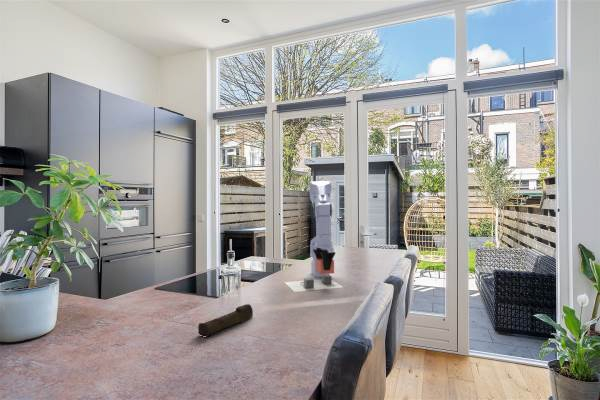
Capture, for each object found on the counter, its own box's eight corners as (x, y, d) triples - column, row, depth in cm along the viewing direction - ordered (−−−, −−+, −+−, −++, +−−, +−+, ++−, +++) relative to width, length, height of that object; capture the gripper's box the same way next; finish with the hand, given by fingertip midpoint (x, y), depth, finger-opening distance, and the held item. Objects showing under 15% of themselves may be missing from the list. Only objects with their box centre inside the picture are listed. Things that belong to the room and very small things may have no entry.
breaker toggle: (304, 286, 134) (304, 278, 134) (311, 285, 135) (311, 278, 135) (306, 288, 132) (306, 280, 132) (313, 287, 132) (313, 279, 132)
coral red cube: (315, 271, 137) (315, 258, 137) (328, 270, 139) (328, 257, 139) (320, 274, 132) (320, 261, 132) (334, 273, 134) (334, 260, 134)
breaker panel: (284, 285, 142) (284, 275, 142) (329, 282, 148) (329, 271, 148) (294, 295, 128) (294, 283, 128) (344, 291, 134) (344, 279, 134)
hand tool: (206, 340, 89) (206, 322, 89) (197, 336, 92) (197, 319, 92) (258, 319, 104) (258, 304, 104) (249, 317, 106) (249, 301, 106)
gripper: (308, 232, 141) (308, 265, 141) (321, 236, 127) (321, 273, 127) (324, 231, 143) (324, 264, 143) (338, 235, 129) (338, 271, 129)
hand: (324, 268), depth 135 cm, fingers closed on coral red cube, 6 cm apart
